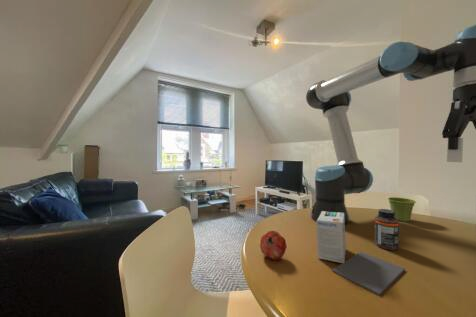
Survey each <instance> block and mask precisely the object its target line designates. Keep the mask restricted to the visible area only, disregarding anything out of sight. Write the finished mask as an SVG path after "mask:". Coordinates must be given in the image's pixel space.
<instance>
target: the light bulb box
mask: <svg viewBox="0 0 476 317" xmlns="http://www.w3.org/2000/svg"><path fill="white" fill-rule="evenodd" d="M316 236H317V237H316V239H317V241H316V242H317V258H318V259H319V260H324V261H329V262H333V263H334V262H335V263H339V264H342V263H343V264H344V262H345V261H346V251H347V250H346V249H347V248H346V224H345V220H344V213H340V212H327V211H321V213H320V216H319V217H318V219H317V221H316Z"/></svg>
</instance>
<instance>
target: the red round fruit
mask: <svg viewBox="0 0 476 317" xmlns="http://www.w3.org/2000/svg"><path fill="white" fill-rule="evenodd" d="M259 248H260V250H261V253H262V254H263V256H265V257H267V258H270V259H272V260H274V261H275V260H276V261H278V260H280V259H282V258H283V257H284V255H285V252H286V249H287V242H286V239H285V237H284V236H282V235H281V234H280V233H279V232H278V231H275V230H270V231H268V232H266V233H265V234H263V235H262V236H261V238H260V244H259Z"/></svg>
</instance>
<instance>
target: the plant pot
mask: <svg viewBox="0 0 476 317" xmlns="http://www.w3.org/2000/svg"><path fill="white" fill-rule="evenodd" d="M387 201H388V204H389V207H390V210H392V211H394V212H395V216H394V217H395V218H396V219H398V221H400V222H407V223H408V222H410V221H411V219H412V213H413V209H414V206H415V203H417V202H416V200H414V199H410V198H406V197H399V196H398V197H388V198H387Z"/></svg>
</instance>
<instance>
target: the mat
mask: <svg viewBox="0 0 476 317" xmlns="http://www.w3.org/2000/svg"><path fill="white" fill-rule="evenodd" d="M331 270H332V272H333V273H335V274H337V275H339V276H341V277H343V278H344V279H347V280H348V281H350V282H352V283H353V284H355V285H358V286H360V287H362V288H364V289H366V290H368V291H369V292H372V293H374V294H375V295H377V296H380V295H382V294H383V293H384V292H385V291H386V290H387V288H389V287H390V285H392V283H393V282H395V281H396V280H397V279H398V278H399V277H400V275H402V274H403V272H405V267H402V266H400V265H397V264H394V263H392V262H389V261H386V260H384V259H380V258H378V257H376V256H374V255H371V254H368V253H365V252H364V251H360V252H358V253H357V254H354V255H353V256H352V257H350V258H348V259H347V260H345V262H344V264H343V263H339V265H337V266H335V267H333V268H332V269H331Z"/></svg>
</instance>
